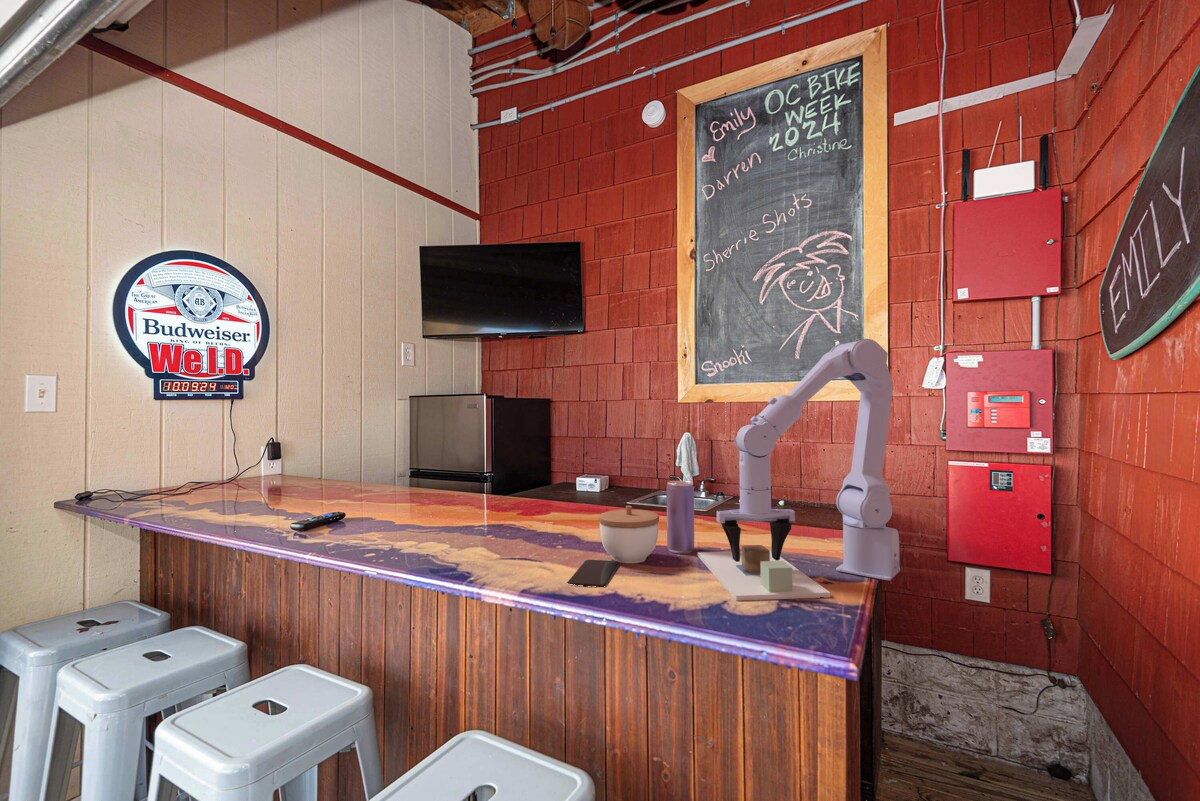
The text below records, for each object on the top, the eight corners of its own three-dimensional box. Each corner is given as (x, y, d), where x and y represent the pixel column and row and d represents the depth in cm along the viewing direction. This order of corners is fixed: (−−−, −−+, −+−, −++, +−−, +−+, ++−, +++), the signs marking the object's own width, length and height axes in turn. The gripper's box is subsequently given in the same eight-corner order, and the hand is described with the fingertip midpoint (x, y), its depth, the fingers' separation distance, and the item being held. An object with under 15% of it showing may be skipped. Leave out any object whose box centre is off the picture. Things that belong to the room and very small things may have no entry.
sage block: (782, 583, 96) (782, 560, 96) (792, 591, 92) (792, 567, 92) (760, 584, 96) (760, 561, 96) (769, 592, 92) (769, 568, 92)
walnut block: (762, 565, 106) (761, 544, 106) (769, 572, 102) (769, 550, 102) (741, 566, 106) (741, 545, 106) (748, 572, 102) (748, 551, 102)
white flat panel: (771, 553, 117) (771, 549, 117) (830, 597, 91) (830, 591, 91) (697, 555, 116) (697, 551, 116) (736, 600, 90) (736, 595, 90)
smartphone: (605, 590, 97) (620, 564, 112) (605, 585, 97) (620, 560, 112) (565, 587, 99) (585, 562, 113) (565, 583, 99) (585, 558, 113)
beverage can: (694, 554, 117) (693, 484, 117) (666, 553, 118) (665, 484, 118) (694, 547, 123) (694, 480, 123) (668, 546, 124) (667, 480, 124)
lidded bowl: (657, 568, 108) (657, 512, 108) (594, 566, 110) (594, 511, 110) (661, 551, 120) (660, 501, 120) (604, 549, 122) (603, 500, 122)
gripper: (783, 483, 108) (784, 552, 108) (711, 485, 107) (712, 554, 107) (799, 489, 101) (800, 563, 101) (722, 491, 100) (723, 565, 100)
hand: (756, 559), depth 104 cm, fingers open, 7 cm apart
